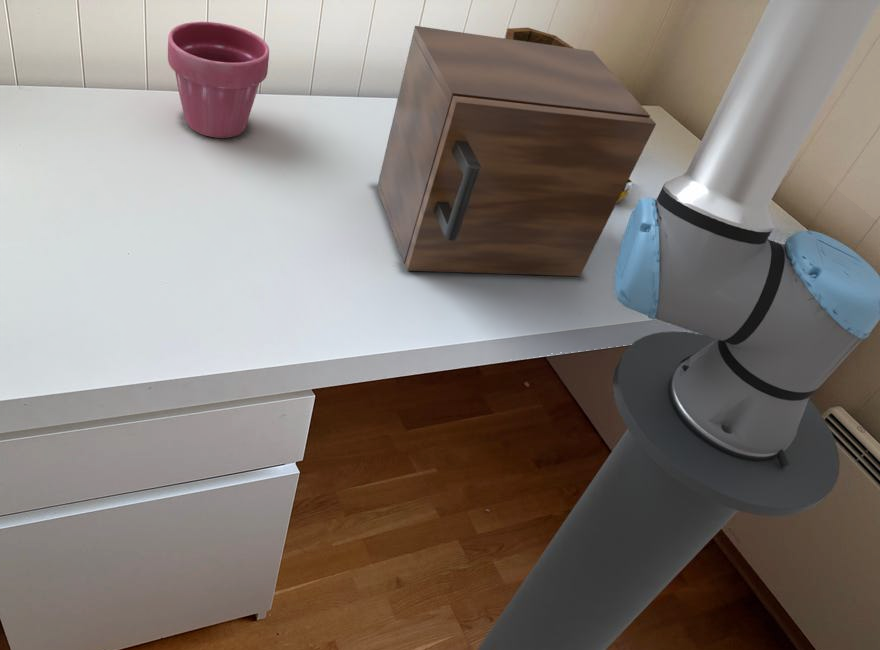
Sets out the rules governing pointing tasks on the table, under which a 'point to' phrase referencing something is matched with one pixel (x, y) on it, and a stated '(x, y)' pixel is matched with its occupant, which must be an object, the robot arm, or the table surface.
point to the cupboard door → (523, 187)
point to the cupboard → (484, 77)
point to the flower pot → (217, 75)
